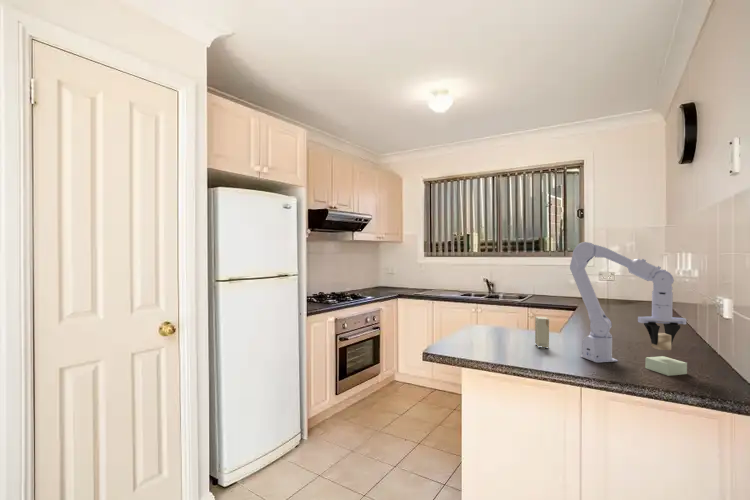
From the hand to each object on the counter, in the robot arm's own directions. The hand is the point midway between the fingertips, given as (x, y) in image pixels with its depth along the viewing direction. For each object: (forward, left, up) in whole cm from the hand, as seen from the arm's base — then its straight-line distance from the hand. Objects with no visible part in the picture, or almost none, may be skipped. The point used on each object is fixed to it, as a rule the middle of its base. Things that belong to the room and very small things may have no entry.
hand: (661, 344), depth 132 cm
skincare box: (-22, +34, -9) cm, 41 cm away
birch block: (0, 0, -2) cm, 2 cm away
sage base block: (-1, -2, -9) cm, 9 cm away
